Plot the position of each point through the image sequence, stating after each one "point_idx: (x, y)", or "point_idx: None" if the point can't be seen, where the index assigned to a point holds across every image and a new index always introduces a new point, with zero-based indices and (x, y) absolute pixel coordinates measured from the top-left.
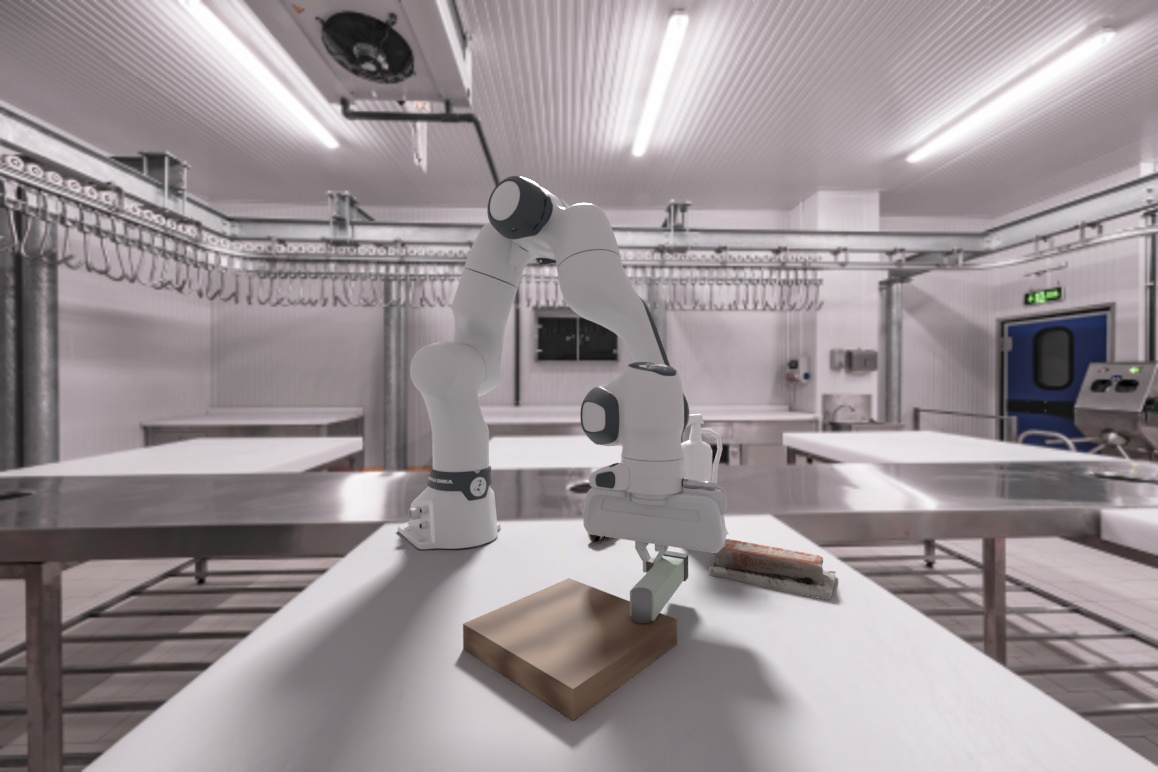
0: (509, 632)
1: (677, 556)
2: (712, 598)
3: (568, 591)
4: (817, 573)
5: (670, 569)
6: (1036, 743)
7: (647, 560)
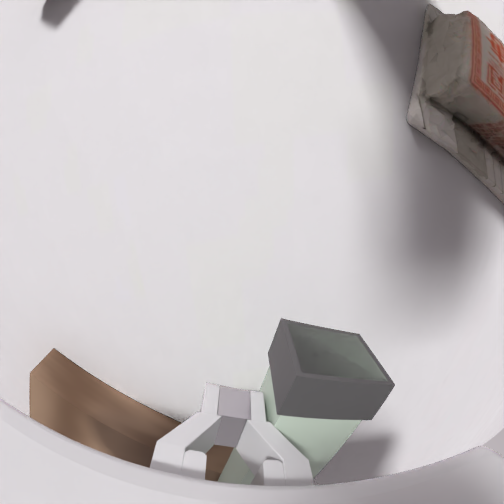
0: None
1: (343, 418)
2: (396, 289)
3: (66, 428)
4: None
5: None
6: (493, 432)
7: (214, 442)
